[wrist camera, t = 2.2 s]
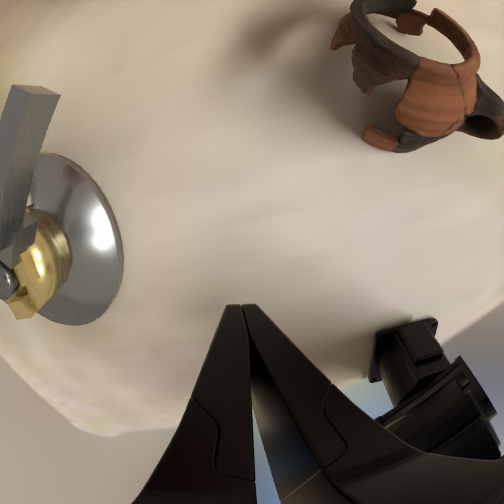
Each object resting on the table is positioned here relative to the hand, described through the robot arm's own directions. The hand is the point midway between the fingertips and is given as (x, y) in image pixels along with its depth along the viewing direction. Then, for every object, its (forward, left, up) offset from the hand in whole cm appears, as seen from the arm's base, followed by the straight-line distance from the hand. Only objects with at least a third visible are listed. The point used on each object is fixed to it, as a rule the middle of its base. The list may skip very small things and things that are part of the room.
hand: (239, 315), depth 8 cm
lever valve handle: (+4, +14, -10) cm, 17 cm away
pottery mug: (+7, -12, -12) cm, 18 cm away
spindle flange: (0, +17, -11) cm, 20 cm away
